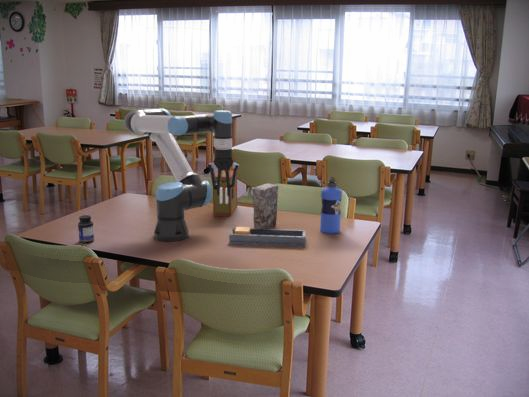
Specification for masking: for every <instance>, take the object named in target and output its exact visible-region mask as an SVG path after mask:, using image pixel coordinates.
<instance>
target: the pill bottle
mask: <svg viewBox="0 0 529 397" xmlns="http://www.w3.org/2000/svg"><path fill="white" fill-rule="evenodd" d="M78 219H79V222H78V223H77V230H78V238H79V239H78V240H79V241H78V242H79V243H81V242H90V243H92V241H93V240H94V241H95V233H94V222H93V221H92V220H91V219H92V216H91V215H89V214H88V215H87V214H85V215H80V216H79V217H78ZM94 241H93V242H94Z"/></svg>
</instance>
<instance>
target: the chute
mask: <svg viewBox="0 0 529 397" xmlns="http://www.w3.org/2000/svg"><path fill="white" fill-rule="evenodd" d="M235 229H236V227H232V233H229V235H228V236H229V239H228V241H229V242H228V245H239V246H265V247H286V248H287V247H290V248H305V247H306V235H307V234H306V230H305V229H282V228H279V229H277V228H269V229H258V228H254V227H253V228H252V227H250V234H235Z"/></svg>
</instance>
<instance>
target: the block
mask: <svg viewBox="0 0 529 397" xmlns="http://www.w3.org/2000/svg"><path fill="white" fill-rule="evenodd" d="M235 228H236V229H235V234H250V228H251V226H236V227H235Z"/></svg>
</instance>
